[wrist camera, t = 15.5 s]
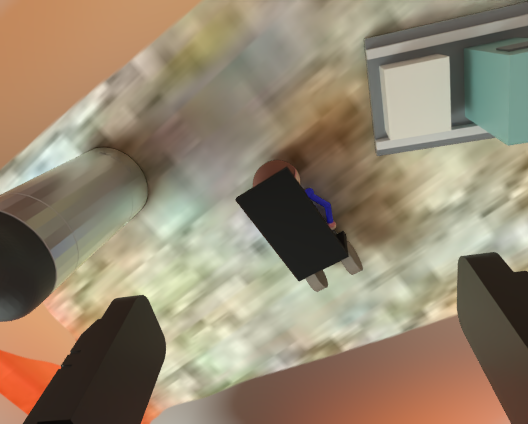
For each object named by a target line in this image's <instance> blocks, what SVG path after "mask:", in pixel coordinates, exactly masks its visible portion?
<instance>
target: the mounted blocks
mask: <svg viewBox="0 0 528 424" xmlns="http://www.w3.org/2000/svg"><path fill="white" fill-rule="evenodd" d="M379 71H380V82H381V92H382V103H383V113H384V124H385V131H386V133H387V135H388V137H389V139H390V141H391V140H397V139H403V138H409V137H415V136H421V135H427V134H433V133H440V132H446V131H451V100H450V62H449V56H445V55H441V54H433V55H429V56H424V57H419V58H414V59H410V60H405V61H400V62H395V63H391V64H386V65H381V66H379Z"/></svg>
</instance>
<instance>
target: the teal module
mask: <svg viewBox="0 0 528 424" xmlns="http://www.w3.org/2000/svg"><path fill="white" fill-rule="evenodd" d="M464 91H465V117H466V118H468V119H469V120H471V121H472V122H474V123H475V124H477V125H478V126H480V127H481V128H483V129H484V130H486V131H487V132H489V133H490V134H491V135H493V136H494V137H496V138H497V139H499V140H500V141H502V142H503V143H505V144H506V145H515V144H521V143H527V142H528V38H517V37H515V38H510V39H505V40H501V41H496V42H492V43H487V44H482V45H478V46H473V47H468V48H464Z"/></svg>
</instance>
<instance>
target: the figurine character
mask: <svg viewBox="0 0 528 424" xmlns="http://www.w3.org/2000/svg"><path fill="white" fill-rule="evenodd" d="M311 200H313V201H314V202H316V203H318V204H320V205H321V206H323V207H325V212H326V217H327V222H326V221H325V220H324V218H323V217H322V215H321V214H320V212H319V211H318V209H317V208H316V207H315V205H314V204H313V202H312V201H311ZM236 202H237V203H238V204H239V205H240V207H241V208H242V209H243V210H244V212H245V213H246V214H247V216H248V217H249V218H250V219H251V221H252V222H253V223H254V225H255V226H256V227H257V228H258V230H259V231H260V232H261V234H262V235H263V236H264V237H265V239H266V240H267V241H268V243H269V244H270V245H271V246H272V248H273V249H274V250H275V252H276V253H277V254H278V255H279V257H280V258H281V259H282V261H283V262H284V263H285V264H286V266H287V267H288V268H289V270H290V271H291V272H292V273H293V275H294V276H295V277H296V279H297V280H298V281H301V280H303V279H305V278H306V280H307V282H308V283H309V285H310V286H311V288H312V289H313V290H314V291H316V292H318V291H320V290H322V289H324V288H326V287H328V282H327V278H326V276H325V274H324V272H323V269H325V268H327V267H329V266H331V265H333V264H335V263H337V262H339V261H341V262H342V263H343V265H344V267H345V268H346V270H347V271H348V272H349V273H350V274H351V275H353V274H355V273H357V272H360V271H362V270H363V267H362V264H361V261H360V259H359V257H358V255H357V253H356V251H355V250H354V248H353V247H352V245H351V244H350V243H349V242H348V241H347V239H346V234H345V232H344V231H342V232H340V233H338V234H337V233H336V231H335V230H334V229H335V228H336V223H335V222H334V221H333V216H332V210H331V204H330V203H329V202H327V201H325V200H324V199H322V198H320V197H319V196H317V195H315V194H314V191H313V189H312V188H307V189H306V190H305V191H304V189H303V188H302V187H301V185H300V177H299V174H298V172H297V170H296V169H295V168H294V167H293V166H292V165H291V164H289V163H287V162H285V161H281V160H274V161H270V162H267V163H265V164H264V165H262V166H261V167H260V168H259V169H258V170H257V172H256V174H255V176H254V179H253V188H251V189H249V190H248V191H246V192H245V193H243V194H241V195H240V196H238V197H237V198H236Z"/></svg>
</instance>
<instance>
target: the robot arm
mask: <svg viewBox="0 0 528 424" xmlns="http://www.w3.org/2000/svg"><path fill="white" fill-rule="evenodd" d="M147 196H148V187H147V182H146V179H145V177H144V174H143V172H142V171H141V169H140V168H139V166H138V165H137V164H136V163H135V162H134V161H133V160H132V159H131V158H130V157H129V156H127V155H126V154H124V153H122V152H120V151H118V150H115V149H112V148H104V147H102V148H95V149H93V150H90V151H88V152H86V153H84V154H82V155H80V156H78V157H76V158H74V159H72V160H70V161H68V162H66V163H64V164H62V165H60V166H57V167H55V168H53V169H51V170H49V171H47V172H45V173H43V174H41V175H39V176H37V177H35V178H33V179H31V180H29V181H27V182H25V183H23V184H21V185H19V186H17V187H15V188H13V189H11V190H9V191H7V192H5V193H3V194H1V195H0V322H3V321H12V320H16V319H19V318H21V317H24V316H25V315H27V314H29V313H30V312H31V311H33V310H34V309H35V308H36V307H37V306H39V305H40V304H41V303H42V302H43V301H44V300H45V299H46V298H47V297H48V296H49V295H50V294H51V293H52V292H53V291H54V290H56V289H57V288H58V287H59V286H60V285H61V284H62V283H63V282H64V281H65V280H66V279H67V278H68V277H70V276H71V274H72V273H74V272H75V271H76V270H77V269H78V268H79V267H80V266H81V265H82V264H83V263H84V262H85V261H86V260H88V259H89V258H90V257H91V256H92V255H93V254H94V253H95V252H96V251H97V250H98V249H99V248H100V247H102V246H103V245H104V244H105V243H106V242H107V241H108V240H109V239H110V238H111V237H112V236H113V235H114V234H116V233H117V232H118V231H119V230H120V229H121V228H122V227H123V226H124V225H125V224H127V223H128V222H129V221H130V220H131V219H132V218H133V217H134V216H135V215H136V214H137V213H138V212H139V211H140V210H141V209H142V208H143V206H144V205H145V203H146V200H147ZM457 312H458V318H459V322H460V324H461V328H462V330H463V332H464V334H465V336H466V338H467V340H468V342H469V344H470V346H471V348H472V350H473V352H474V354H475V355H476V357H477V359H478V361H479V363H480V365H481V367H482V369H483V371H484V373H485V374H486V376H487V378H488V380H489V382H490V384H491V386H492V388H493V390H494V392H495V394H496V396H497V397H498V399H499V401H500V403H501V405H502V407H503V409H504V411H505V413H506V415H507V416H508V418H509V420H510V422H511V424H528V272H527V271H520V272H513V271H512V270H511V268H510V267H509V266H508V265H507V264H506V262H505V261H504V260H503V259H502V258H501V257H500V255H499V254H497V253H495V252H491V253H483V254H475V255H467V256H461V257H460V258H459V260H458V280H457ZM70 352H71V353H70V355H68V356H67V357H66V359H65V360H64V362H63V364H62V365H61V369H58V371H57V372H56V374H55V375H54V377H53V378H52V380H51V381H50V383H49V384H48V386H47V388H46V389H45V391H44V392H43V394H42V395H41V397H40V398H39V400H38V401H37V403H36V404H35V406H34V407H33V409H32V410H31V412H30V413H29V415H28V416H27V418H26V419H25V421H24V423H23V424H141V421H142V418H143V416H144V413H145V410H146V408H147V405H148V402H149V400H150V397H151V394H152V391H153V389H154V386H155V383H156V381H157V378H158V375H159V373H160V370H161V367H162V365H163V362H164V359H165V354H166V342H165V337H164V335H163V332H162V330H161V328H160V325H159V323H158V321H157V318H156V316H155V314H154V312H153V309H152V307H151V305H150V302H149V300H148V299H147V297H146V296H144V295H138V296H130V297H122V298H116V299H114V300H113V301H112V302H111V304H110V305H109V307H108V309H107V310H106V312H105V313H104V315H103V317H102V318H101V319H98V320H97V321H95V322H94V323H93V324H92V325H91V326H90V327H89V328H88V329H87V330H86V331H85V332H84V333H82V334H81V336H80V337H79V339H78V340H77V342H76V343H75V345H74V347H73V348H72V349H71V351H70Z"/></svg>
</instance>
